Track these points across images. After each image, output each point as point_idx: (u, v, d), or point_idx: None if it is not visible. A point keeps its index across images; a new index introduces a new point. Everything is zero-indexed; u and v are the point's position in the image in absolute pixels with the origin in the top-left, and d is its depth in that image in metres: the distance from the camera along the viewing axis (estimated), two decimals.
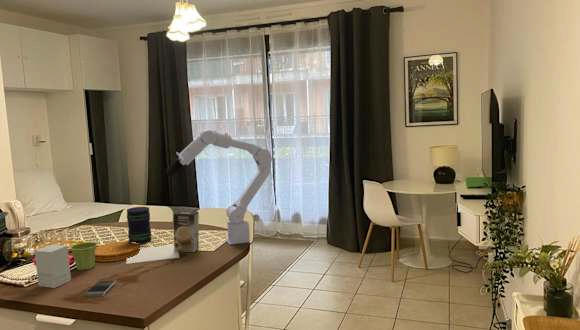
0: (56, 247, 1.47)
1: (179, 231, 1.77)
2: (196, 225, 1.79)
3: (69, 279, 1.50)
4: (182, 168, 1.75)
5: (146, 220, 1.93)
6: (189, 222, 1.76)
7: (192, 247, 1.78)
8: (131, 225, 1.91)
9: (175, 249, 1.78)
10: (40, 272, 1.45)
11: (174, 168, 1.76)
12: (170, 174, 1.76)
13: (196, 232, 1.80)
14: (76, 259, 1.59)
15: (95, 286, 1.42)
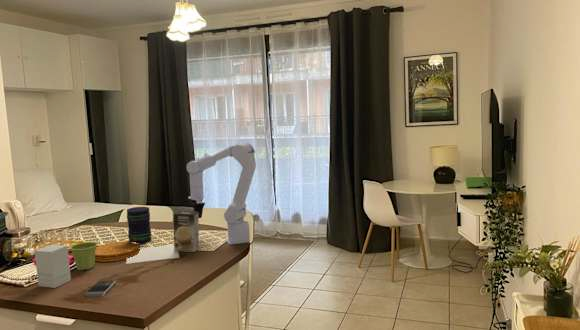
0: (56, 247, 1.47)
1: (179, 231, 1.77)
2: (196, 225, 1.79)
3: (69, 279, 1.50)
4: (202, 205, 1.91)
5: (146, 220, 1.93)
6: (189, 222, 1.76)
7: (192, 247, 1.78)
8: (131, 225, 1.91)
9: (175, 249, 1.78)
10: (40, 272, 1.45)
11: (198, 209, 1.93)
12: (199, 216, 1.93)
13: (196, 232, 1.80)
14: (76, 259, 1.59)
15: (95, 286, 1.42)
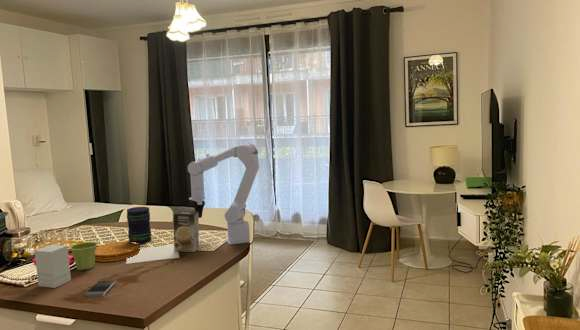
0: (56, 247, 1.47)
1: (179, 231, 1.77)
2: (196, 225, 1.79)
3: (69, 279, 1.50)
4: (203, 204, 1.93)
5: (146, 220, 1.93)
6: (189, 222, 1.76)
7: (192, 247, 1.78)
8: (131, 225, 1.91)
9: (175, 249, 1.78)
10: (40, 272, 1.45)
11: (198, 209, 1.94)
12: (200, 215, 1.94)
13: (196, 232, 1.80)
14: (76, 259, 1.59)
15: (95, 286, 1.42)
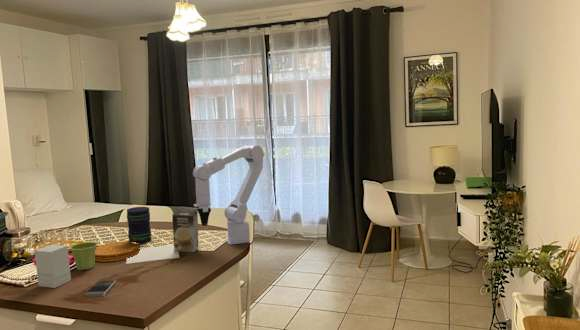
0: (56, 247, 1.47)
1: (179, 231, 1.76)
2: (195, 226, 1.77)
3: (69, 279, 1.50)
4: (208, 211, 1.80)
5: (146, 220, 1.93)
6: (188, 223, 1.75)
7: (192, 247, 1.77)
8: (131, 225, 1.91)
9: (175, 249, 1.78)
10: (40, 272, 1.45)
11: (203, 216, 1.81)
12: (205, 223, 1.82)
13: (195, 232, 1.79)
14: (76, 259, 1.59)
15: (95, 286, 1.42)
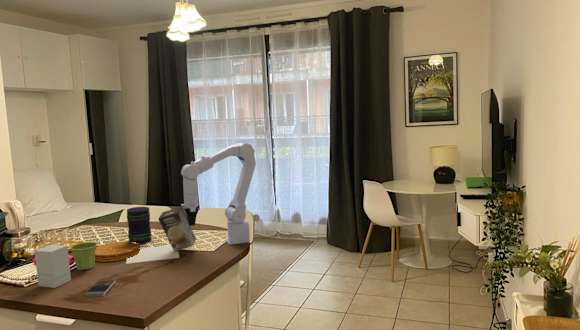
0: (56, 247, 1.47)
1: (170, 232, 1.75)
2: (184, 221, 1.76)
3: (69, 279, 1.50)
4: (196, 211, 1.78)
5: (146, 220, 1.93)
6: (176, 221, 1.74)
7: (189, 242, 1.77)
8: (131, 225, 1.91)
9: (174, 249, 1.78)
10: (40, 272, 1.45)
11: (191, 216, 1.80)
12: (193, 223, 1.80)
13: (187, 227, 1.78)
14: (76, 259, 1.59)
15: (95, 286, 1.42)
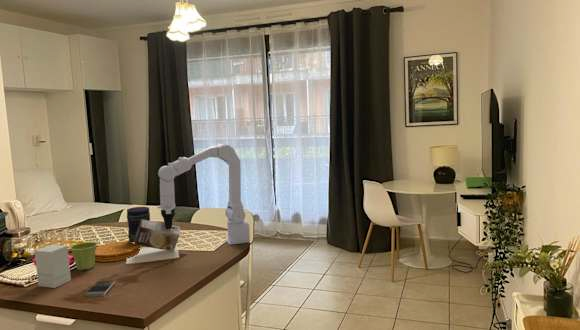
0: (56, 247, 1.47)
1: (154, 243, 1.74)
2: (153, 226, 1.74)
3: (69, 279, 1.50)
4: (172, 214, 1.74)
5: None
6: (147, 233, 1.72)
7: (174, 235, 1.75)
8: (131, 225, 1.91)
9: (172, 250, 1.78)
10: (40, 272, 1.45)
11: (167, 220, 1.75)
12: (169, 226, 1.75)
13: (161, 227, 1.75)
14: (76, 259, 1.59)
15: (95, 286, 1.42)
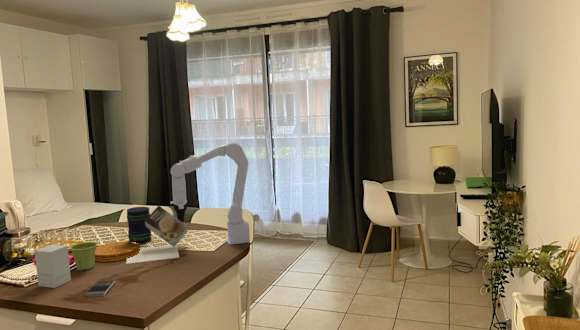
0: (56, 247, 1.47)
1: (162, 225, 1.82)
2: None
3: (69, 279, 1.50)
4: (184, 208, 1.86)
5: None
6: (161, 213, 1.85)
7: (183, 225, 1.84)
8: (131, 225, 1.91)
9: (174, 239, 1.80)
10: (40, 272, 1.45)
11: (180, 213, 1.87)
12: (181, 219, 1.87)
13: None
14: (76, 259, 1.59)
15: (95, 286, 1.42)
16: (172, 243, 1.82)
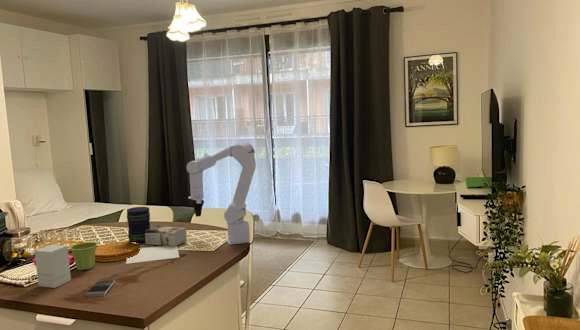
0: (56, 247, 1.47)
1: (161, 229, 1.90)
2: None
3: (69, 279, 1.50)
4: (202, 203, 1.95)
5: (146, 220, 1.93)
6: (160, 227, 1.95)
7: (181, 228, 1.93)
8: (131, 225, 1.91)
9: (173, 232, 1.85)
10: (40, 272, 1.45)
11: (197, 208, 1.96)
12: (199, 214, 1.96)
13: None
14: (76, 259, 1.59)
15: (95, 286, 1.42)
16: (172, 239, 1.85)
